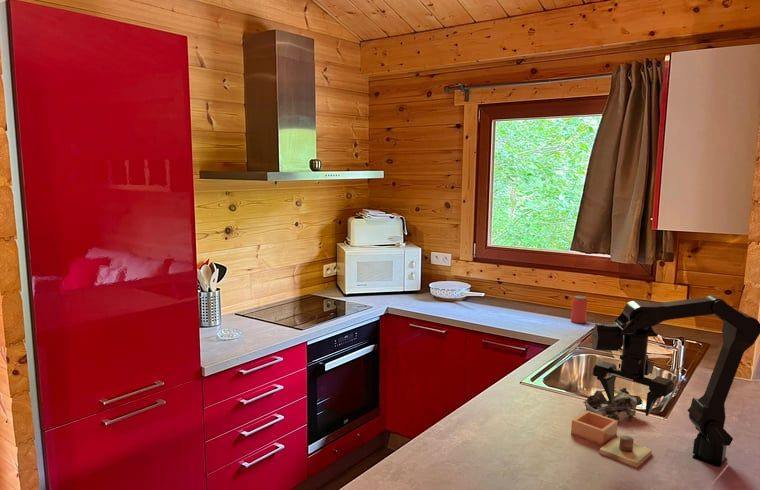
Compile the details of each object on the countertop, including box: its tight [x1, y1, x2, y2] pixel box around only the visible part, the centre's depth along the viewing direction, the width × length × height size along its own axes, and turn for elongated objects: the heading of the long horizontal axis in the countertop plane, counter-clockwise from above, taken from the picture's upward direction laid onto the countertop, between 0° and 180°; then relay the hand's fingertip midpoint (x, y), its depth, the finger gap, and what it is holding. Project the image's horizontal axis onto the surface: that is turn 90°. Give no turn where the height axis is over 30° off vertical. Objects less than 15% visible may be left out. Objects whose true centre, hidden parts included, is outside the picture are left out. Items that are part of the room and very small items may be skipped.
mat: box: [598, 451, 653, 469], centre depth 152 cm, size 10×10×1 cm
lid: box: [599, 435, 653, 469], centre depth 152 cm, size 10×10×4 cm
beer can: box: [570, 294, 588, 325], centre depth 271 cm, size 7×7×12 cm
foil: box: [583, 386, 644, 423], centre depth 174 cm, size 12×11×15 cm
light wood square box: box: [570, 410, 619, 447], centre depth 162 cm, size 9×9×4 cm
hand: (629, 409), depth 151 cm, fingers open, 9 cm apart
